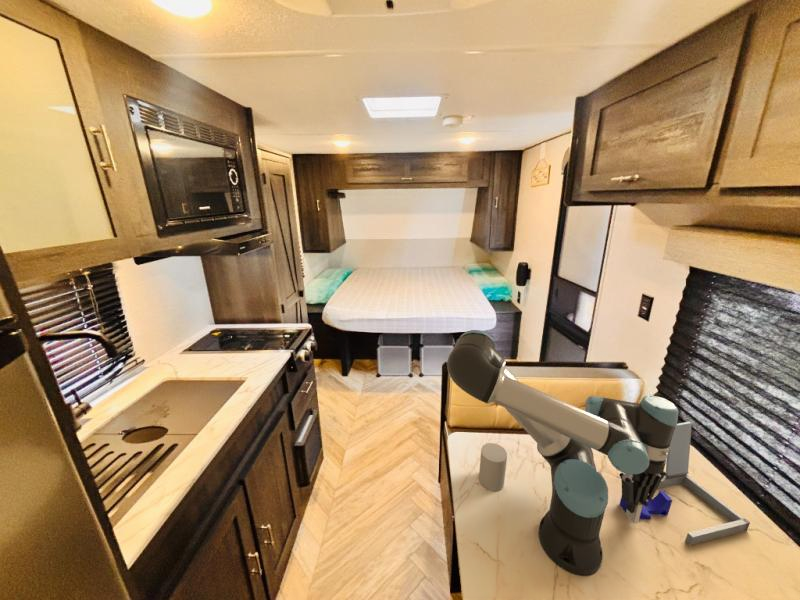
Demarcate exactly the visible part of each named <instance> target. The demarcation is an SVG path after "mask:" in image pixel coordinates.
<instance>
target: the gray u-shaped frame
mask: <svg viewBox="0 0 800 600" xmlns="http://www.w3.org/2000/svg"><path fill="white" fill-rule="evenodd" d="M679 484H683V485H685V486H686V487H687V488H688V489H690V490H691V491H692V492H694V493H695V494H696V495H697V496H698V497H700V498H701V499H702V500H704V501H705V502H706V503H707V504H708V505H710V506H711V507H712V508H713V509H715V510H716V511H717V512H719V514H721V515H722V516H724V517H725V518H726V519H728V521H729V522H725V523H723V524H718V525H713V526H710V527H706V528H705V527H704V528H702V529H698V530H694V531H690V532H687V535H686V537H685V543H687V544H688V545H689V546H693V545H696V544H700V543H704V542H708V541H711V540H715V539H720V538H723V537H727V536H732V535H734V534H739V533H742V532H747V531H748V528H749V526H750V524H751V522H750V521H749V520H747V519H746V518H745V517H744V516H742V515H741V514H740V513H738V512H737V511H736V510H734V509H733V508H732V507H731V506H729V505H728V504H727V503H725V502H724V501H723V500H721V499H720V498H719V497H717V496H716V495H715V494H713V493H712V492H710V491H709V490H708V489H707V488H706V487H705V486H702V484H701V483H699V482H698V481H696V480H695V479H693V478H692V477H691V476H690V475H689V474H684V475H680V476H675V477H670V478H667V477H666V476H664V478H663V479H662V480H661V482H660V484H659V486H658V488H657V489H661V488H666V487H671V486H674V485H676V486H677V485H679Z"/></svg>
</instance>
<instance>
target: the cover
mask: <svg viewBox="0 0 800 600" xmlns="http://www.w3.org/2000/svg"><path fill="white" fill-rule="evenodd" d="M692 424H693V423H692V422H691V421H685V422H679V423H677V426H676V427H675V430H674V434H673V437H672V440H671V444H670V447H669V451H668V456H667V458H666V464H665V472H666V475H665V476H666V477H667V478H670V477H675V476H680V475H684V474H687V475H689V464H690V449H691V440H692V439H691V437H692V426H693V425H692Z"/></svg>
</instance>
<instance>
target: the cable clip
mask: <svg viewBox="0 0 800 600" xmlns="http://www.w3.org/2000/svg"><path fill="white" fill-rule="evenodd" d="M646 502H647V503H648V504H649V505H648V506H645V505H643V508H642V510H641V514H640V517H639V520H640V519H641V520H651V519H652V516H653V515H655V516H668V515H669V512H670V509H671V505H672V503H673V499H672V497H670V496H669V495H668V493H667V492H666V491H665V490H659V491H658V493H657V494H656V495H655V497H654V496H653V498H652V500H651V501H648V500H647V501H646ZM619 506H620V507H621V509H622V510H623V512H624V513H625V514H626V510H627V502H626V501H625V500H624V499H623V498H622V495H621V497H620V500H619Z"/></svg>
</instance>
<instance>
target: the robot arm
mask: <svg viewBox="0 0 800 600" xmlns="http://www.w3.org/2000/svg"><path fill="white" fill-rule="evenodd" d="M446 365H447V366H446V367H447V372H448V374H449V377H450V378H451V380H452V382H453V383H454V384H455V385H456V386H457V387H458V388H460V389H461V390H462V391H463V392H464V393H466V394H467V395H469V396H471V397H472V398H474V399H476V400H478V401H481V402H483V403H485V404H486V405H488V404H490V403H491V404H492V403H494V404H497V405H498V406H501V407H503V408H504V409H505V410H506V411H507V412H508V413H509V415H511V416H512V417H513V418H514V420H515V421H516V422H517V423H518V424H519V425H520V426H521V427H522V428H523V430H524V431H525V432H526V433H527V434H528V435H529V436H530V437H531V438H532V440H534V442H536V450H537V452H538V453H539V454H540V455H541V456H542V458H543V459H544V460H545V461H546V462H547V463H548V464H549V467H550V475H551V476H550V477H551V488H552V491H551V499H550V505H549V509H548V510H547V512H546V513H545V514H544V516H543V517H542V518H541V519H540V523H539V524H538V525H539V526H538V533H537V534H538V539H539V544H540V545H541V547H542V549H543V551H544V553H545V554H546V556H547V557H548V558H549V559H550V560H551V561H552V562H553V563H555V565H557V566H558V567H559V568H561V569H562V570H564V571H566V572H568V573H570V574H573V575H575V576H579V577H580V576H581V577H588V576H592V575H595V574H596V573H597V572H598V571H599V570H600V568H601V566H602V562H603V557H604V555H603V554H604V553H603V547H602V545H601V542H602V541H601V539H600V532H601V528H602V525H603V524H602V523H603V520H604V516H605V512H606V509H607V506H608V503H609V488H608V484H607V481H606V479H605V478H604V476H603V475H602V474H601V473H600V472H599V471H597V468H596V463H595V460H594V453H593V450H595V451H597V452H599V453H601V454H603V455H605V456H607V459H608V460H609V461H610V464H611V466H612V467H614V468H615V469H616V470H617V471H619V472H620V473H619V477H620V479H621V496H622V498H623V499H624V500H625V501H626V502H627V510H626V513H625V514H624V515H625V516H626V517H627V518H628V519H629V520H630V521H631V522H632V523H633V524H638V523H639V522H640V519H639V517H640V514H641V510H642V508H643V505H645V506H648V505H649V504H648V503H647V502H646V501H651V500H652V499H653V498H654V496H655V493H656V492H657V490H658V489H659V488H658V486H659V484H660V482H661V480H662V479H663V478H664V476H665V475H666V471H664V470H665V468H666V461H667V456H668V451H669V447H670V444H671V440H672V437H673V434H674V430H675V427H676V426H677V424H678V421H679V420H678V419H679V409H678V407H677V406H676V404H674V403H673V402H672V401H670V400H668V399H666V398H664V397H660V396H657V395H644V396H643V397H642V398H641V400H640V402H631V401H627V400H620V399H615V398H610V397H609V398H608V397H605V396H594V395H593V396H592V395H590V396H588V397H587V398H586V401H585V405H584V410H583V409H582V408H579V407H577V406H575V405H572V404H570V403H568V402H566V401H564V400H561V399H559V398H557V397H555V396H552V395H550V394H548V393H546V392H543V391H541V390H539V389H537V388H534V387H532V386H530V385H527V384H525V383H523V382H521V381H519V380H518V378H516V376H515V375H514V374H513V373H511V372H510V370H509V369H508V368H507V367H506V358H504V357H503V356H502V354H501V353H500V352H499V351H498V350H497V349H496V344H495V341H494V339H493V338H492V337H491V335H490V334H489V333H487V332H485V331H484V330H480V329H470V330H467V331H465V332H464V333H462V334H461V335H460V336H459V338H458V339H456V342H455V344H454V346H453V348H452V350H451V352H450V354H449V355H448V357H447V363H446Z"/></svg>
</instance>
